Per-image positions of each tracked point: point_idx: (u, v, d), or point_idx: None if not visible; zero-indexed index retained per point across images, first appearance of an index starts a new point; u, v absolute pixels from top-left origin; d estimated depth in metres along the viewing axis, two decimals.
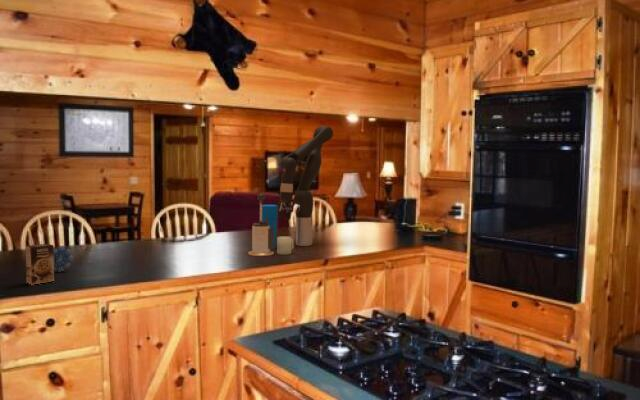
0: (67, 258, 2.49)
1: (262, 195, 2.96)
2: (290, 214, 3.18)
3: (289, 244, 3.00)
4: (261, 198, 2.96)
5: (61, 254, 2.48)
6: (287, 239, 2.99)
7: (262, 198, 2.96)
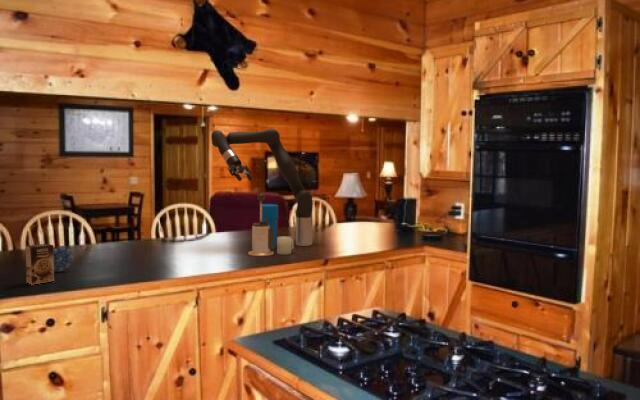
0: (67, 258, 2.49)
1: (262, 195, 2.96)
2: (237, 175, 3.00)
3: (289, 244, 3.00)
4: (261, 198, 2.96)
5: (61, 254, 2.48)
6: (287, 239, 2.99)
7: (262, 198, 2.96)
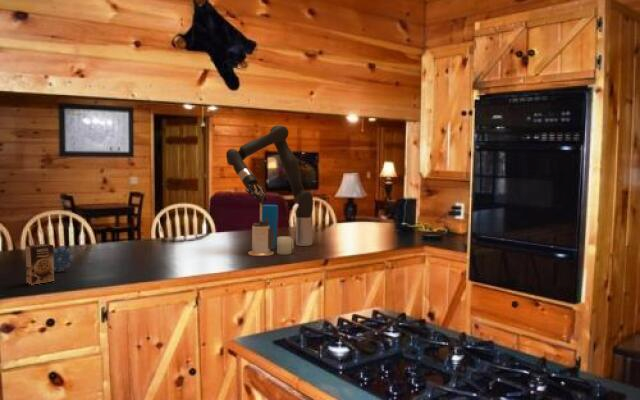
0: (67, 258, 2.49)
1: (262, 195, 2.96)
2: (257, 196, 2.95)
3: (289, 244, 3.00)
4: None
5: (61, 254, 2.48)
6: (287, 239, 2.99)
7: (262, 198, 2.96)
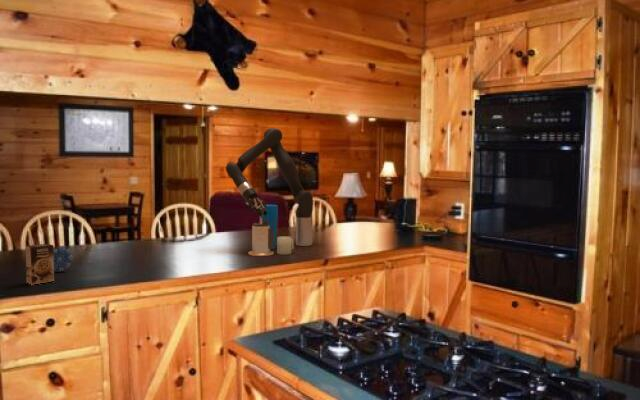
0: (67, 258, 2.49)
1: (262, 209, 2.96)
2: (257, 210, 2.95)
3: (289, 244, 3.00)
4: None
5: (61, 254, 2.48)
6: (287, 239, 2.99)
7: (262, 212, 2.97)
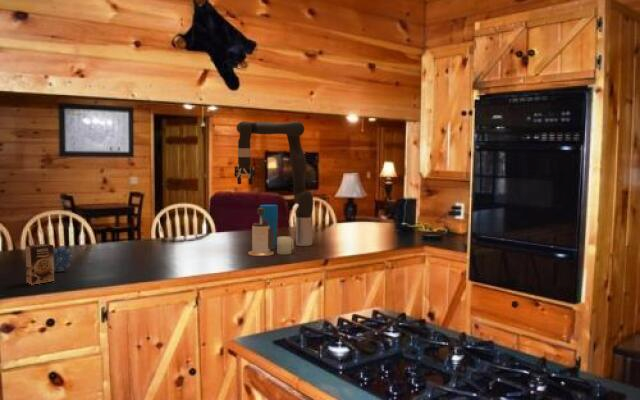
0: (67, 258, 2.49)
1: (262, 209, 2.96)
2: None
3: (289, 244, 3.00)
4: (261, 212, 2.96)
5: (61, 254, 2.48)
6: (287, 239, 2.99)
7: (262, 212, 2.97)
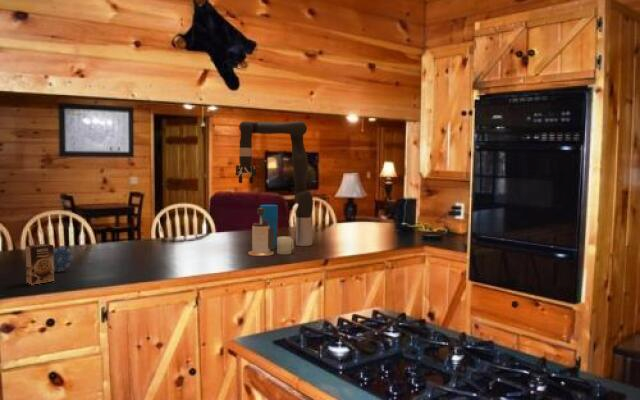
0: (67, 258, 2.49)
1: (262, 209, 2.96)
2: None
3: (289, 244, 3.00)
4: (261, 212, 2.96)
5: (61, 254, 2.48)
6: (287, 239, 2.99)
7: (262, 212, 2.97)
